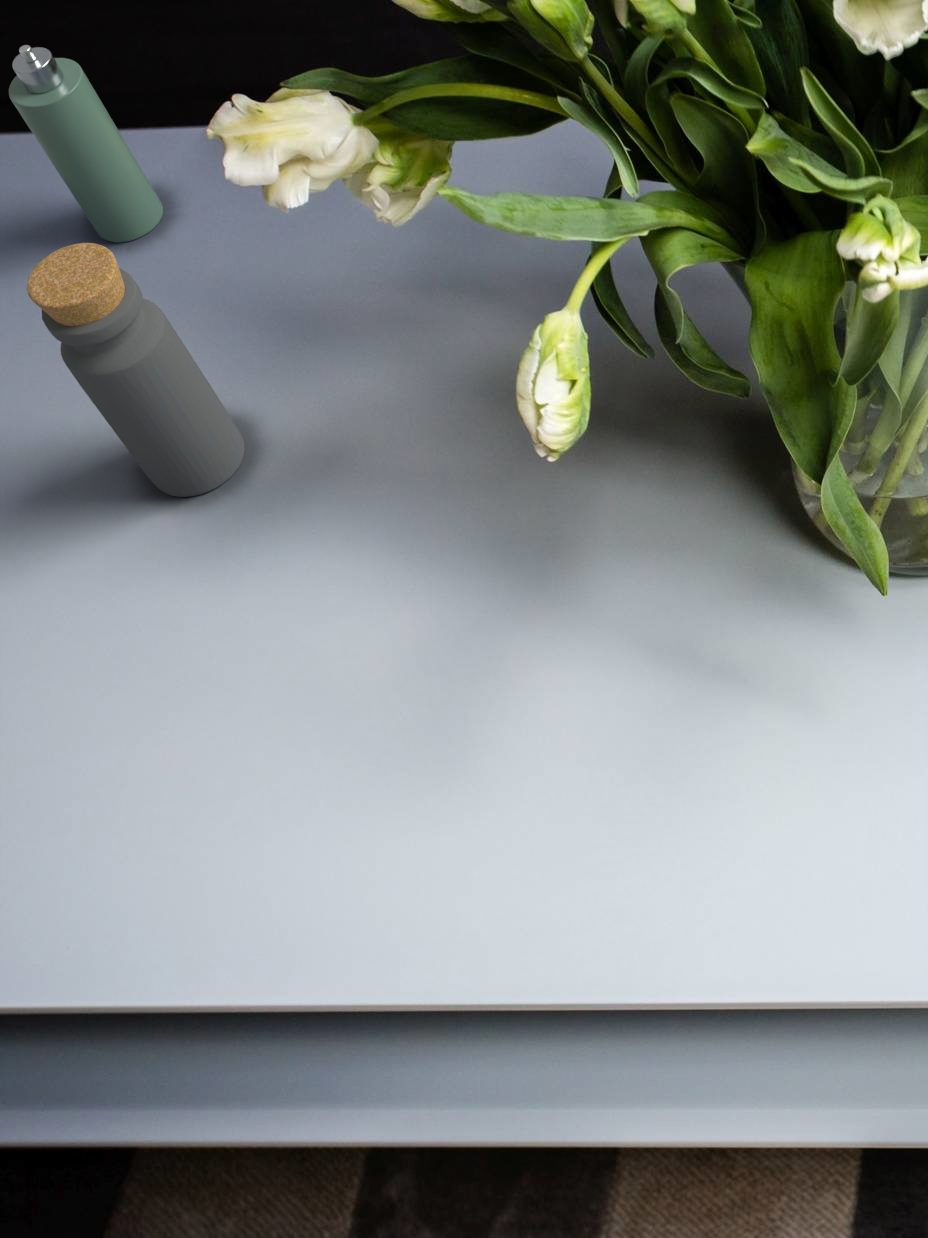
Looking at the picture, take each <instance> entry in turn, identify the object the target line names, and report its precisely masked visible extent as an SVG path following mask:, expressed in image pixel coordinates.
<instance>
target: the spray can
mask: <svg viewBox="0 0 928 1238" xmlns="http://www.w3.org/2000/svg"><path fill="white" fill-rule="evenodd" d="M18 51H19V54H18V55H16V56H15V58H14V59H13V61H12V65H11V66H12V69H13V71H14V73H15V74H16V76H15V77H14V78H13V80H12V81H11V83H10V85H9V88H8V96H9V99H10V100H11V103H12V104H13V105H14V107H15V108H16V110H17V112H18V113H19V114H20V116H21V117H22V119H23V121H24V122H25V124H26V125H27V127H28V129H29V130H30V132H31V133H32V134H33V136H34V138H35V139H36V141H37V142H38V143H39V145H40V147H41V148H42V150H43V151H44V153H45V154H46V156H47V157H48V159H49V161H50V163H51V164H52V166H53V167H54V169H55V170H56V171H57V173H58V174H59V177H60V178H61V179H62V181H63V182H64V184H65V185H66V187H67V188H68V190H69V192H70V193H71V195H72V196H73V197H74V199H75V201H76V203H77V204H78V206H79V207H80V209H81V210H82V212H83V213H84V215H85V216H86V218H87V219H88V221H89V222H90V224H91V225H92V227H93V228H94V230H95V231H96V233H97V234H98V236H99V237H100V238H102V239H103V240H105V241H108V242H111V243H127V242H130V241H134V240H137V239H139V238H142V237H144V236H145V235H147V234H148V233H150V232H151V231H153V230H154V229H155V227H157V226H158V224H159V223H160V222H161V220H162V218H163V215H164V206H163V203H162V202H161V199H160V198H159V196H158V195H157V192H156V191H155V189H154V188H153V186H152V185H151V183H150V181H149V180H148V178H147V176H146V174H145V173H144V171H143V169H142V168H141V166H140V164H139V163H138V161H137V159H136V158H135V156H134V154H133V152H132V151H131V149H130V147H129V146H128V143H127V142H126V140H125V139H124V137H123V136H122V133H120V130H119V129H118V127H117V126H116V124H115V122H114V120H113V118H111V116H110V114H109V112H108V110H107V109H106V107H105V106H104V104H103V102H102V100H101V99H100V97H99V95H98V93H97V91H96V89H94V86H93V85H92V83H91V81H89V78H88V76H87V75H86V73H85V72H84V70H83V68H82V67H81V65H80V64H79V63H78V62H76V61H75V60H73V59H70V58H66V57H54V55H53V54H52V52H51V51H50V50H49V49H47V48H45V47H41V46H40V47H39V46H35V47H31V45H28V44H24V45H21V46H20V47H19V49H18Z"/></svg>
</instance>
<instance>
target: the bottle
mask: <svg viewBox="0 0 928 1238" xmlns="http://www.w3.org/2000/svg"><path fill="white" fill-rule="evenodd" d="M117 261H118V260H117V259H116V257H115V255H114V253H113V252H112V250H110V249H109V248H108V247H106V246H104V245H101V244H98V243H94V242H80V243H73V244H70V245H67V246H63V247H61V248H59V249H57V250H55V251H52V252H50V253H49V254H48V255H47V256H45V257H44V258H43V259H41V260H40V261H39V262H38V263H37V264H36V265H35V266H34V268H33V269H32V270H31V272H30V274H29V276H28V279H27V282H26V292H27V295H28V297H29V298H30V300H31V301H32V303H34V304H35V305H36V306H38V307H39V308H40V309H41V319H42V322H43V324H44V326H45V327H46V329H47V330H48V332H49V333H50V334H51V335H52V337H54V338H55V340H57V341H59V342H60V356H61V358H62V360H63V363H64V364H65V366H66V367H67V369H68V370H69V372H70V373H71V374H72V376H73V377H74V379H75V380H76V382H77V383H78V385H79V386H80V387H81V388H82V390H83V391H84V393H85V394H86V395H87V397H88V398H89V399H90V401H91V402H92V403H93V405H94V406H95V408H96V409H97V410H98V411H99V413H100V414H101V416H102V417H103V418H104V420H105V421H106V422H107V424H108V425H109V427H110V428H111V429H112V431H113V432H114V433H115V435H116V436H117V437H118V438H119V440H120V441H121V443H122V444H123V445H124V447H125V449H126V450H127V451H128V452H129V454H130V455H131V456H132V458H133V459H134V460H135V462H136V463H137V464H138V466H139V467H140V469H141V470H142V471H143V472H144V474H145V475H146V476H147V477H148V479H149V480H150V481H151V483H152V484H153V485H154V486H155V487H156V489H158V490H159V491H160V492H162V493H164V494H167V495H168V496H173V497H180V498H185V497H186V498H187V497H196V496H199V495H203V494H206V493H208V492H211V491H213V490H215V489H216V488H218V487H220V486H222V485H223V484H225V482H227V481H228V480H229V479H231V477H232V476H233V475H234V474H235V473H236V471H237V470H238V469H239V468H240V466H241V464H242V462H243V459H244V456H245V449H246V447H245V441H244V438H243V436H242V434H241V432H240V430H239V428H238V427H237V425H236V423H235V422H234V420H233V419H232V417H231V415H230V414H229V412H228V411H227V409H226V408H225V406H224V404H223V403H222V401H221V399H220V398H219V396H218V395H217V393H216V392H215V390H214V389H213V387H212V385H211V384H210V382H209V381H208V380H207V378H206V376H205V375H204V373H203V372H202V370H201V368H200V367H199V365H198V364H197V362H196V361H195V359H194V358H193V356H192V354H191V353H190V351H189V350H188V349H187V347H186V345H185V343H184V342H183V340H182V339H181V337H180V336H179V334H178V333H177V331H176V330H175V327H174V326H173V325H172V323H171V322H170V321H169V319H168V317H167V315H165V313H164V312H163V310H162V309H161V308H160V307H159V306H158V305H157V304H156V303H154V302H153V301H152V300H149V299H147V298H144V297H143V293H142V290H141V287H140V286H139V285H138V283H137V282H136V280H135V279H134V278H133V276H132V274H130V273H129V272H127V271H126V270H125V269H122V268H121V267H119V264H118V262H117Z"/></svg>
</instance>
